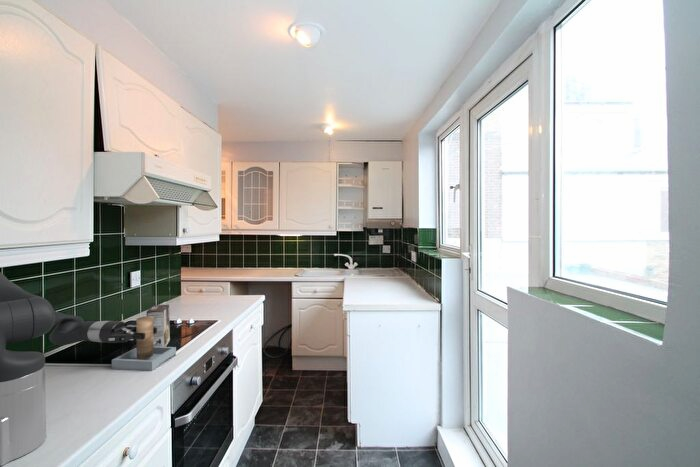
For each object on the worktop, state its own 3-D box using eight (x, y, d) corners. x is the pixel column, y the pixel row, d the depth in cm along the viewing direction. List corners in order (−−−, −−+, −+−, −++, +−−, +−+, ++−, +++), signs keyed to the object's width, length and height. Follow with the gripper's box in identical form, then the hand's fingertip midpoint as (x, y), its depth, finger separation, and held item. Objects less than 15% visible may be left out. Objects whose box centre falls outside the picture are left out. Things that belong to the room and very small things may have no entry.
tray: (152, 370, 98) (151, 361, 98) (111, 368, 100) (111, 359, 100) (176, 355, 110) (175, 347, 110) (139, 353, 112) (139, 345, 112)
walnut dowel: (146, 359, 102) (145, 320, 102) (133, 358, 103) (132, 320, 102) (156, 353, 107) (156, 316, 107) (144, 352, 108) (144, 315, 107)
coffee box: (152, 342, 123) (152, 305, 122) (170, 340, 125) (169, 303, 125) (146, 351, 114) (145, 311, 114) (164, 348, 116) (164, 309, 116)
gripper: (88, 328, 99) (134, 330, 97) (124, 315, 113) (164, 317, 112) (88, 349, 99) (134, 351, 98) (124, 334, 113) (165, 336, 112)
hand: (150, 333), depth 105 cm, fingers closed on walnut dowel, 5 cm apart
